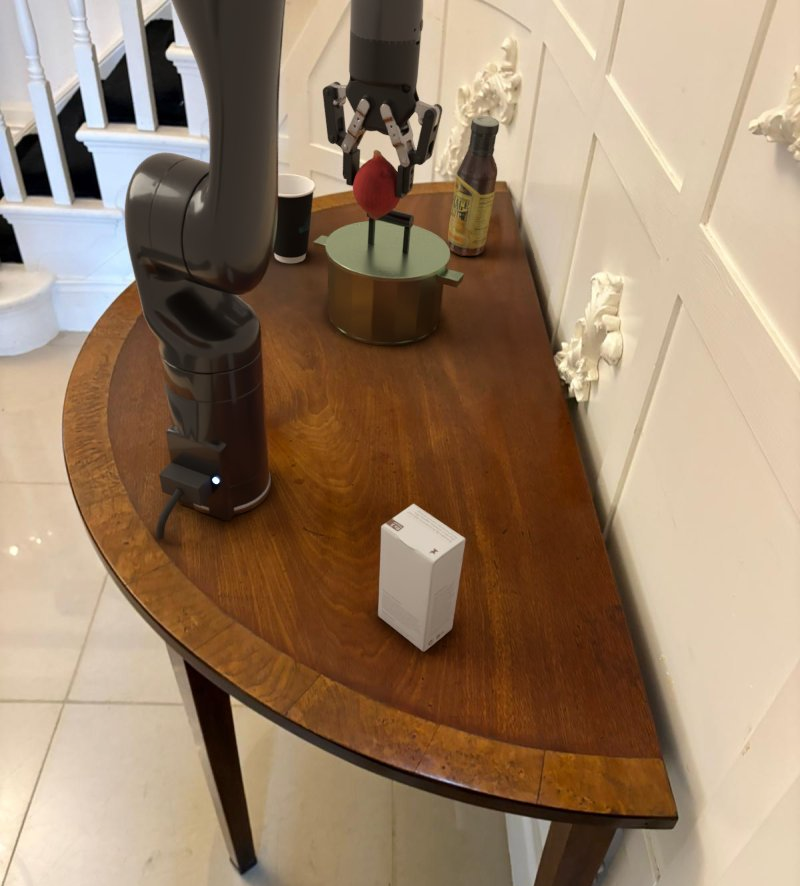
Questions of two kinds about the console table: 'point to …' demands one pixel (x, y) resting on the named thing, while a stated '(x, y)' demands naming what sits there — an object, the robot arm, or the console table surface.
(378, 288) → the pot
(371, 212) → the onion
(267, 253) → the robot arm
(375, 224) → the lid
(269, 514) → the console table surface
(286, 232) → the dixie cup
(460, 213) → the sauce bottle
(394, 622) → the cosmetic box
